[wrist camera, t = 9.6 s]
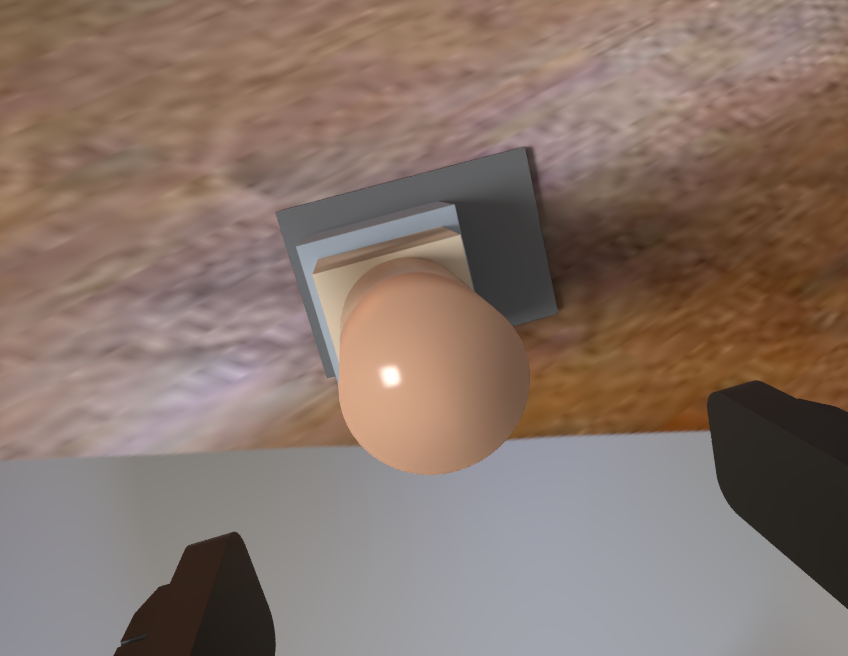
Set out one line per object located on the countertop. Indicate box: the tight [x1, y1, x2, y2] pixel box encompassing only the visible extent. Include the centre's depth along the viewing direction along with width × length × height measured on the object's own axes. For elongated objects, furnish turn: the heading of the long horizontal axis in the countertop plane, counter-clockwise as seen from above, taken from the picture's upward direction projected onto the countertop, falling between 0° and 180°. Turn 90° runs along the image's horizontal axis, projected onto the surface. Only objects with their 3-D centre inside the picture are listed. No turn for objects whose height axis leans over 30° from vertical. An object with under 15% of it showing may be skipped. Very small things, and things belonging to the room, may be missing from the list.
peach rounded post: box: [338, 257, 530, 475], centre depth 19 cm, size 5×5×7 cm
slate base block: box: [296, 201, 475, 385], centre depth 29 cm, size 7×7×5 cm
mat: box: [275, 147, 558, 378], centre depth 32 cm, size 13×9×1 cm
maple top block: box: [312, 226, 474, 361], centre depth 25 cm, size 6×6×4 cm
